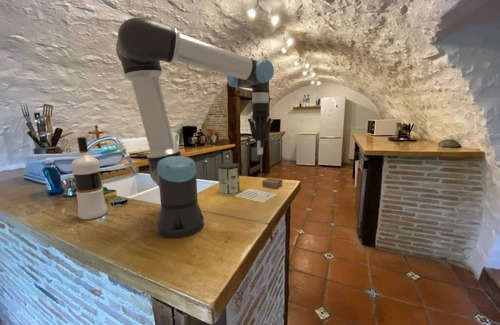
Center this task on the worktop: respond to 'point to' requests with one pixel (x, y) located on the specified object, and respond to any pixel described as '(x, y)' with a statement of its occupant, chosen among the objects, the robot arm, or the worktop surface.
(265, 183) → the walnut block
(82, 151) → the vodka
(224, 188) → the coffee can
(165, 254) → the worktop surface
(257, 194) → the letter
